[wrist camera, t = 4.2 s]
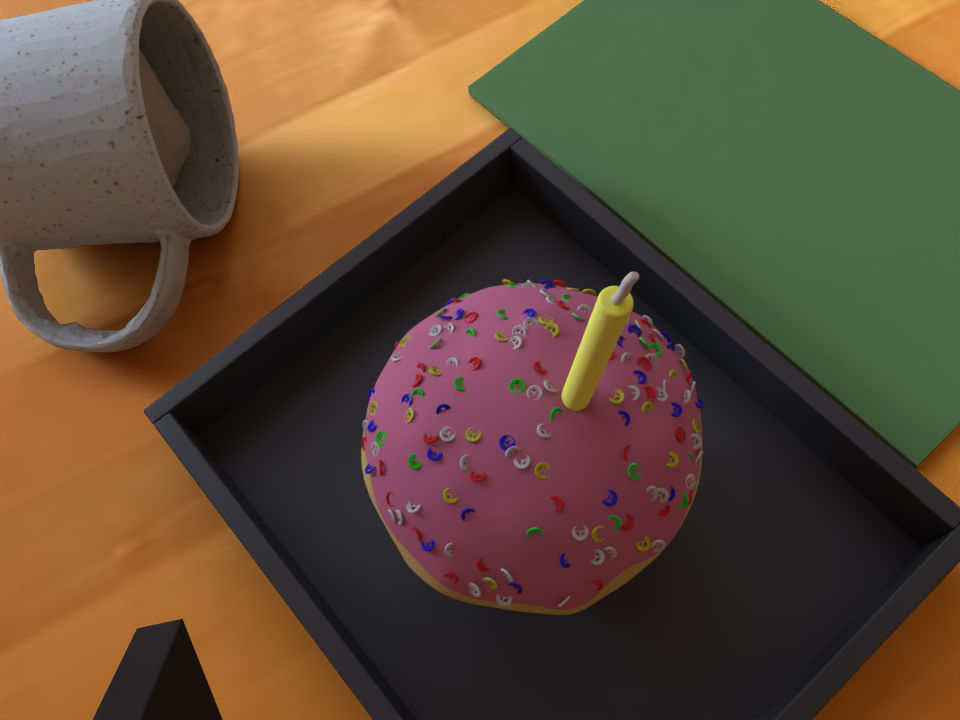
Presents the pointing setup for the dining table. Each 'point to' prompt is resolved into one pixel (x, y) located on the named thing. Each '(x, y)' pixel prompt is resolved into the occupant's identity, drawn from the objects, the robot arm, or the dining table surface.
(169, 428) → the baking pan
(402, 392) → the cupcake
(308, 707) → the dining table surface
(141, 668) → the robot arm
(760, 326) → the green cloth
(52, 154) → the ceramic mug
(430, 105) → the dining table surface
